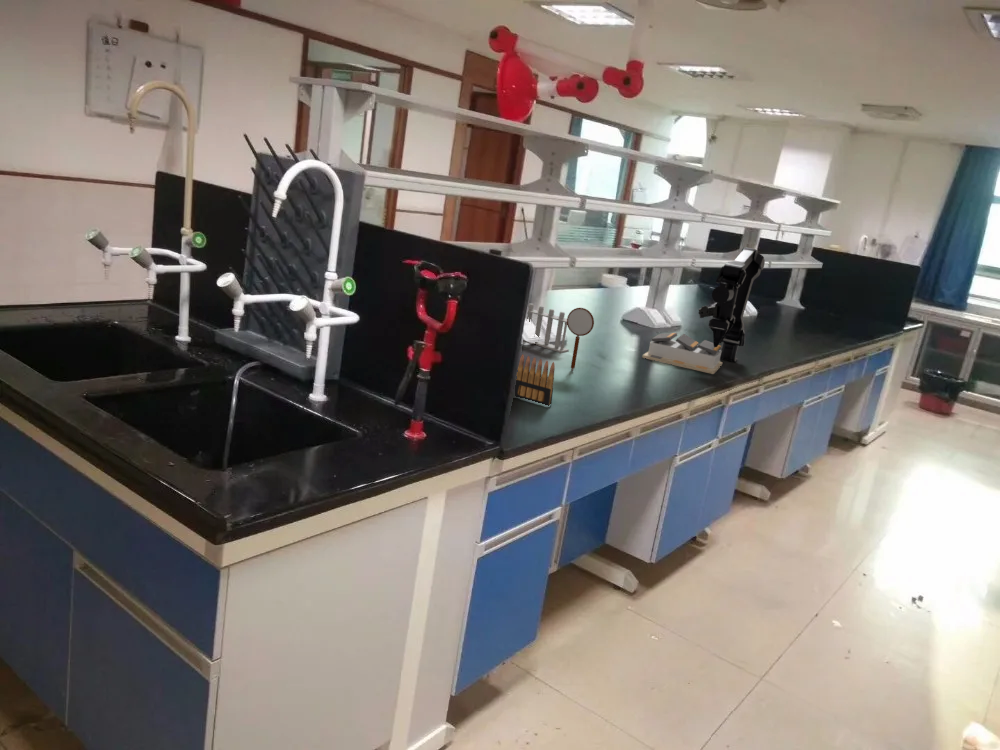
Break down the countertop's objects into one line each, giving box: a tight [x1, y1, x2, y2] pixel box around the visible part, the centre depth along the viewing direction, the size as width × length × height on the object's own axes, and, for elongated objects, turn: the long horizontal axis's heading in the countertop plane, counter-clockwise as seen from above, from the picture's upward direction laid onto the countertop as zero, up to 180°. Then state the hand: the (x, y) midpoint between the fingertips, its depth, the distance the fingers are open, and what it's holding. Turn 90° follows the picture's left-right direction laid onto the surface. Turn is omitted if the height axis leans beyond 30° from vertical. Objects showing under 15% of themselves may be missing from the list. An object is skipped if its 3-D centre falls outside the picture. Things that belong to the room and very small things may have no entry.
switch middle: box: [675, 333, 700, 351], centre depth 264 cm, size 12×6×1 cm, turn 155°
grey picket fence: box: [526, 303, 570, 354], centre depth 260 cm, size 25×4×13 cm, turn 51°
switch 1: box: [651, 332, 678, 342], centre depth 267 cm, size 12×6×1 cm, turn 155°
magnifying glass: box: [566, 307, 595, 372], centre depth 229 cm, size 9×2×20 cm, turn 63°
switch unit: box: [641, 339, 723, 375], centre depth 265 cm, size 18×25×6 cm
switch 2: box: [698, 339, 722, 354], centre depth 261 cm, size 12×6×1 cm, turn 155°
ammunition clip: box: [515, 353, 556, 406], centre depth 193 cm, size 11×2×12 cm, turn 62°
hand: (717, 344), depth 260 cm, fingers open, 9 cm apart
